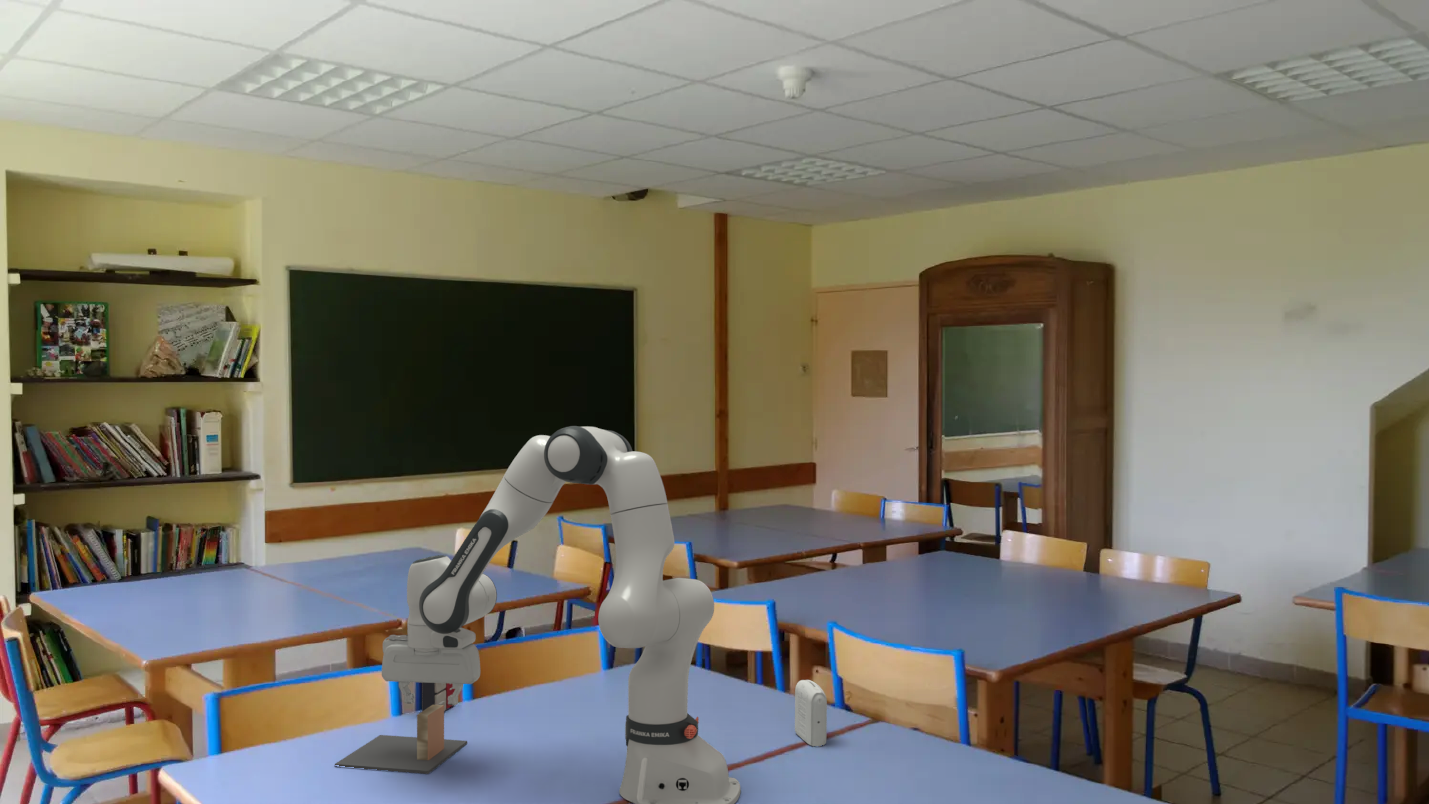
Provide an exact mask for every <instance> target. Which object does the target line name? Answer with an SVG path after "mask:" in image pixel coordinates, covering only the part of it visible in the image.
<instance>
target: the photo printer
mask: <svg viewBox="0 0 1429 804" xmlns="http://www.w3.org/2000/svg"><path fill="white" fill-rule="evenodd" d="M794 689H795V691H794V696H795V697H794V733H795V734H796V735H797V736H798V737H800V739H801V740H803V741H804V742H805V743H806V744H808V745H809V746H812V747H814V746H819V747H822V746H821V745H823V746H825V744H827V732H828V730H827V724H828V723H827V722H828V721H827V720H828V719H827V718H828V716H827V714H828V712H827V710H828V703H827V702H828V701H827V700H828V698H827V696H826V693H825V691H824V690H823V689H822V687H821V686H820V685H819V684H817V683H816V682H814V681H812V680H810V679H801V680H799V681H798V682H797V683H796V685H795V688H794Z"/></svg>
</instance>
